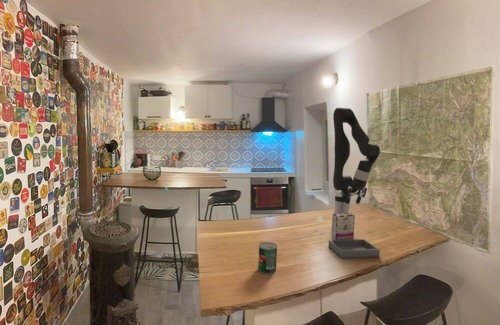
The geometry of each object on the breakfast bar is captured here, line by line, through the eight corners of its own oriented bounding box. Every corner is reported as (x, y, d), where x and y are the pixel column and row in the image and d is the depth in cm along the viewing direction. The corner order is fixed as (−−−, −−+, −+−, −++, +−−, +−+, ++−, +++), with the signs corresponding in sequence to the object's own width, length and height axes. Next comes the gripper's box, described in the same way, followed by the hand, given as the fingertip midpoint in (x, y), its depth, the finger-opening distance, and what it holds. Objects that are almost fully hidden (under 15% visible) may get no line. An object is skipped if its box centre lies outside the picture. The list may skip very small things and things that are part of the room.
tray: (328, 247, 156) (329, 240, 156) (363, 246, 160) (364, 238, 159) (341, 259, 143) (341, 251, 142) (379, 257, 146) (379, 249, 146)
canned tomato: (254, 269, 130) (255, 245, 129) (266, 263, 135) (267, 240, 134) (267, 276, 124) (268, 250, 123) (279, 270, 130) (281, 246, 128)
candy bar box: (348, 240, 167) (350, 212, 165) (353, 244, 162) (355, 214, 160) (330, 242, 164) (332, 213, 162) (335, 245, 159) (337, 215, 157)
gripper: (364, 175, 176) (356, 200, 180) (347, 174, 169) (338, 200, 173) (374, 180, 170) (365, 206, 174) (357, 180, 163) (347, 206, 167)
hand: (352, 203), depth 174 cm, fingers open, 8 cm apart
